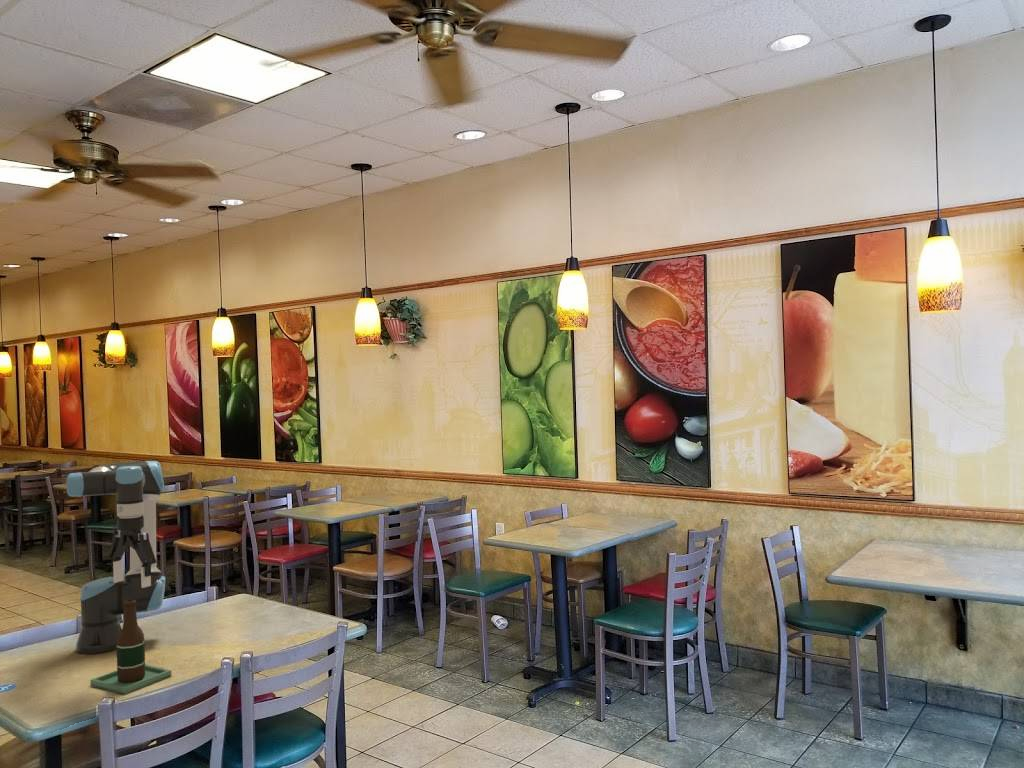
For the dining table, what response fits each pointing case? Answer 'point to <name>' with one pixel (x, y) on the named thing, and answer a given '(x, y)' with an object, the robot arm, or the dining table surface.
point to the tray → (114, 685)
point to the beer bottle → (130, 647)
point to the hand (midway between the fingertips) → (132, 584)
